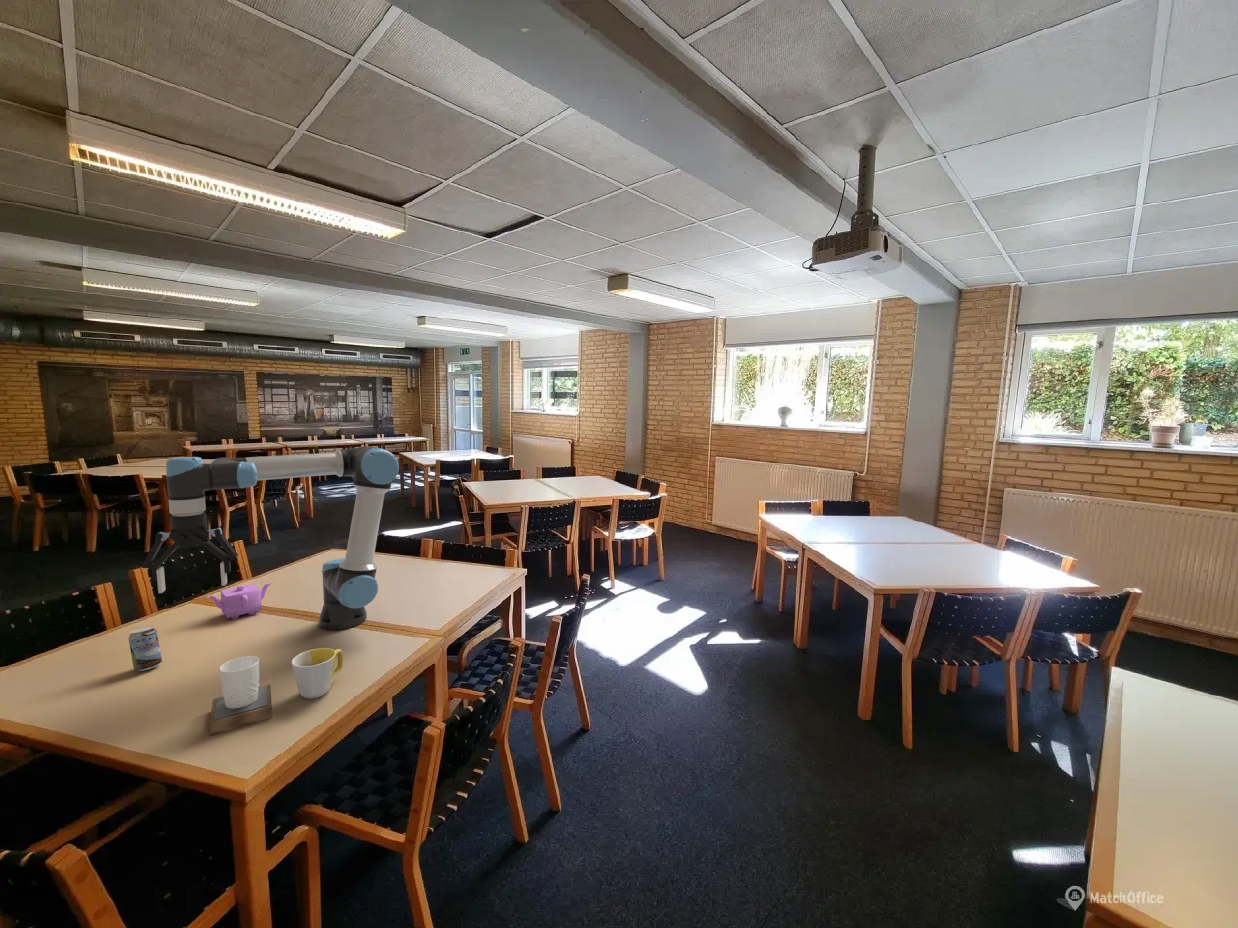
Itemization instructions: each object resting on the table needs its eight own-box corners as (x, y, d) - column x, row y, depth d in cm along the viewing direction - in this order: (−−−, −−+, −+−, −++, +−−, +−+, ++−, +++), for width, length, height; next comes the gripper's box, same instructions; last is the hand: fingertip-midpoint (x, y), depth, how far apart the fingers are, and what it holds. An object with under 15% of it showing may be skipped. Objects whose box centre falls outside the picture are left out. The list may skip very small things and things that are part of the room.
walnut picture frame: (271, 694, 133) (270, 683, 132) (272, 717, 123) (271, 705, 123) (213, 710, 125) (212, 697, 125) (210, 735, 116) (209, 722, 116)
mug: (307, 708, 127) (305, 670, 126) (285, 696, 132) (283, 659, 131) (357, 683, 139) (355, 648, 138) (335, 673, 144) (333, 639, 143)
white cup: (236, 692, 128) (233, 656, 127) (268, 691, 128) (266, 655, 127) (214, 711, 120) (211, 672, 119) (248, 710, 120) (245, 671, 119)
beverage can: (144, 674, 141) (141, 635, 139) (124, 671, 142) (121, 632, 141) (168, 664, 147) (165, 625, 146) (149, 661, 148) (146, 623, 147)
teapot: (240, 605, 190) (238, 578, 189) (274, 606, 190) (272, 579, 189) (206, 622, 175) (204, 593, 174) (244, 623, 175) (242, 594, 174)
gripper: (247, 507, 144) (251, 577, 146) (132, 514, 132) (139, 589, 135) (241, 512, 137) (246, 585, 140) (120, 519, 126) (128, 599, 128)
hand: (194, 587), depth 137 cm, fingers open, 13 cm apart
